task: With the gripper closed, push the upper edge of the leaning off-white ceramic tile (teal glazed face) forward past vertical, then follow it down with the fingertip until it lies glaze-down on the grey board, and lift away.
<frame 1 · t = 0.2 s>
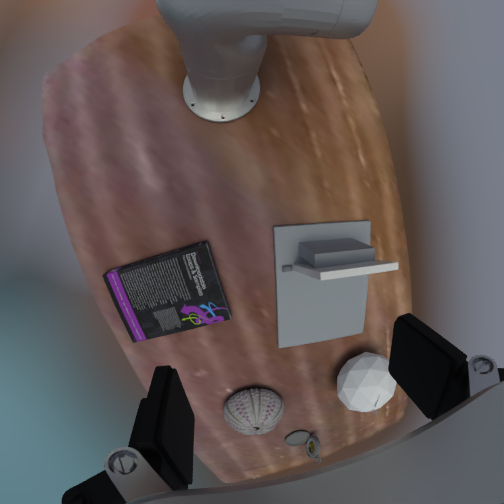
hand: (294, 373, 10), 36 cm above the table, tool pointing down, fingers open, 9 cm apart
pocket watch: (300, 436, 60), on the table
box: (168, 291, 47), on the table
tile: (342, 267, 40), point 8 cm above the table, hinge at 78.0°
board: (323, 261, 48), on the table
geodesic sphere: (354, 365, 56), on the table
sea urchin shell: (252, 403, 55), on the table
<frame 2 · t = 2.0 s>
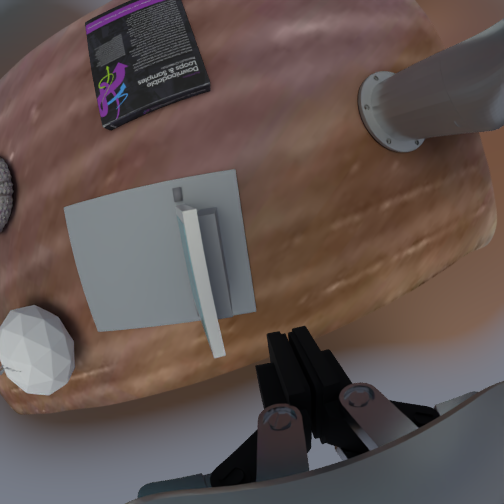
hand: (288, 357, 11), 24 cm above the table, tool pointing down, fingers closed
box: (143, 54, 27), on the table
tile: (194, 268, 26), point 8 cm above the table, hinge at 78.0°
board: (189, 251, 34), on the table
geodesic sphere: (54, 330, 34), on the table
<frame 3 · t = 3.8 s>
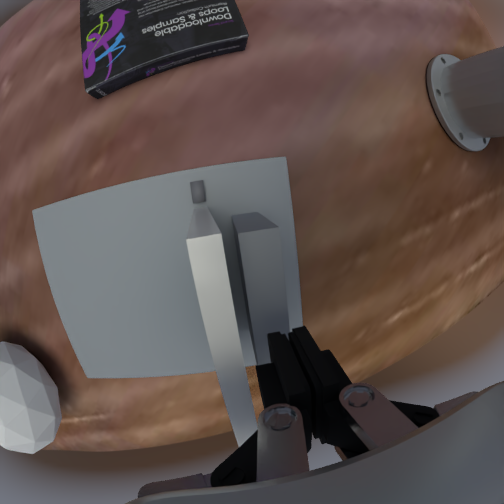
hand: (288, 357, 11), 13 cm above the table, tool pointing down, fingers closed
box: (152, 5, 17), on the table
tile: (220, 320, 15), point 8 cm above the table, hinge at 85.4°, touching gripper
board: (214, 276, 23), on the table
geodesic sphere: (34, 367, 24), on the table
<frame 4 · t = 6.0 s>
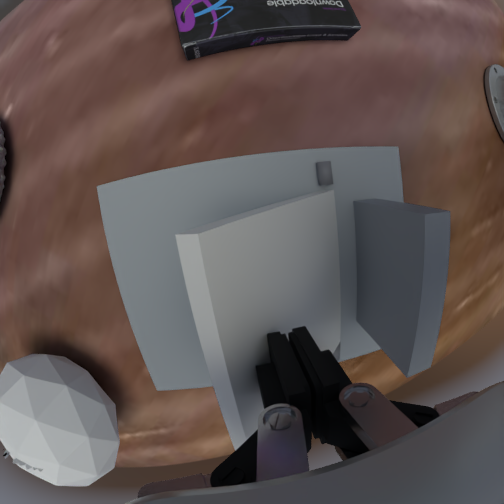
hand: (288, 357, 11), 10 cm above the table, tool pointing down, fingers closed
tile: (297, 314, 14), point 7 cm above the table, hinge at 129.1°, touching gripper
board: (325, 265, 21), on the table
geodesic sphere: (77, 381, 22), on the table
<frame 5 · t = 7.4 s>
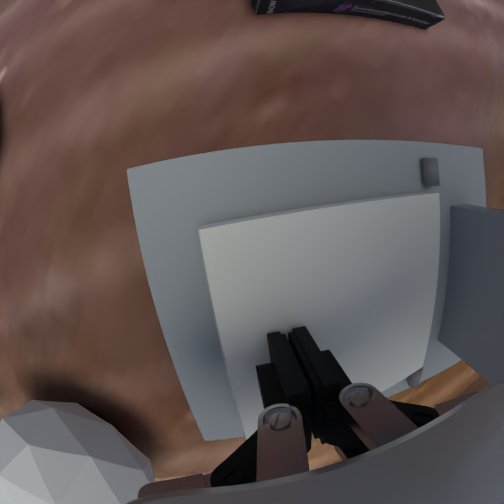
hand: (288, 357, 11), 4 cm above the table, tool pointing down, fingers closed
tile: (352, 323, 13), point 3 cm above the table, hinge at 170.3°
board: (415, 280, 16), on the table
geodesic sphere: (93, 426, 16), on the table
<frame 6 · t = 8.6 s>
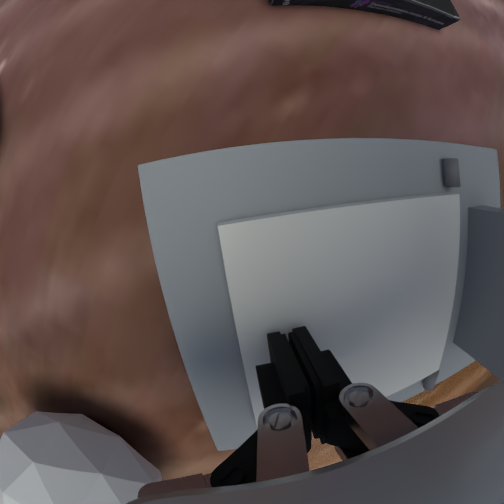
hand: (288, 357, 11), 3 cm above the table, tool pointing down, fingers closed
tile: (367, 322, 13), point 2 cm above the table, hinge at 177.8°, touching board
board: (433, 283, 15), on the table
geodesic sphere: (99, 436, 15), on the table
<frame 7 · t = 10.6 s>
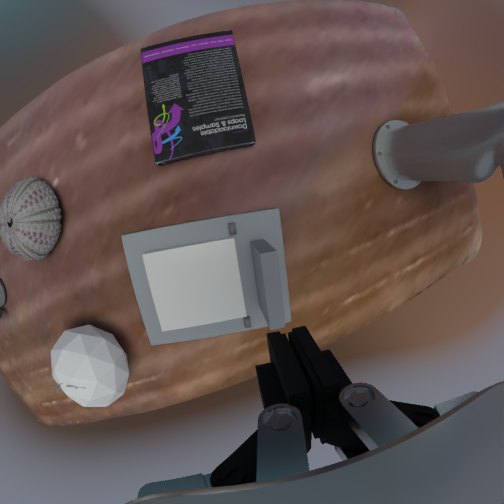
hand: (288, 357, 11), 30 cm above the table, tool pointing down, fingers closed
box: (194, 96, 35), on the table
tile: (195, 286, 39), point 2 cm above the table, hinge at 177.8°, touching board
board: (238, 274, 41), on the table
geodesic sphere: (101, 345, 40), on the table
sea urchin shell: (37, 217, 34), on the table
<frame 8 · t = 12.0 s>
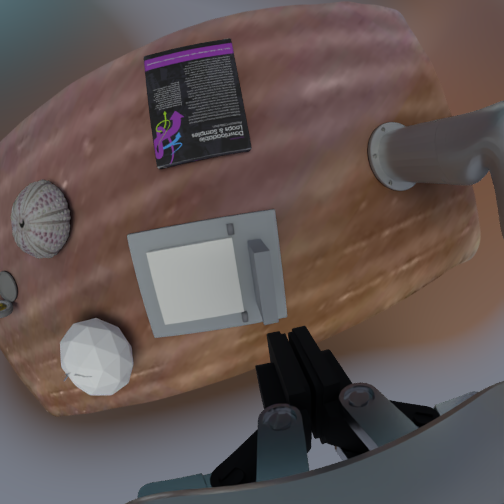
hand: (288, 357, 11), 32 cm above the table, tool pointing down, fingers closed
pocket watch: (9, 290, 39), on the table
box: (195, 103, 37), on the table
tile: (196, 282, 41), point 2 cm above the table, hinge at 177.8°, touching board
board: (237, 272, 44), on the table
geodesic sphere: (108, 338, 44), on the table
sea urchin shell: (47, 217, 38), on the table
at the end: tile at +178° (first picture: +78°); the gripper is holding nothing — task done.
